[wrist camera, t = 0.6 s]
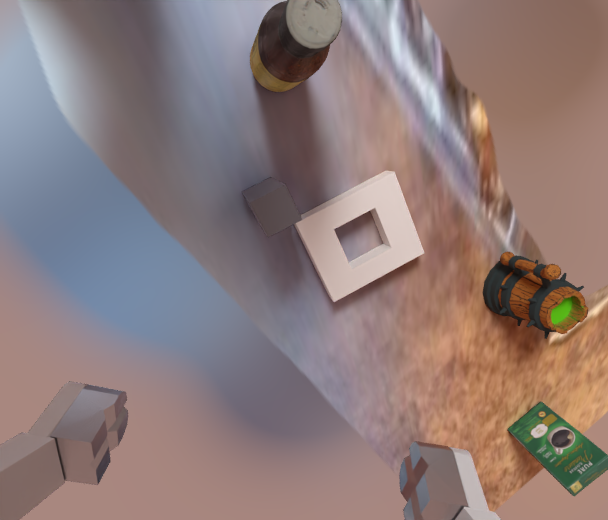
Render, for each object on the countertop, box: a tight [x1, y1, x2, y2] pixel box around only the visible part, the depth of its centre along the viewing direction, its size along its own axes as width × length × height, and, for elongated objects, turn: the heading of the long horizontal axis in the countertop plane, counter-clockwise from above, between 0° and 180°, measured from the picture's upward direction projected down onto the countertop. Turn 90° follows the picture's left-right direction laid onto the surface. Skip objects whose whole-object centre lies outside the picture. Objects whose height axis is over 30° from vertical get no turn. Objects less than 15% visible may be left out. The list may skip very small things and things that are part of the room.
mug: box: [483, 252, 588, 339], centre depth 56 cm, size 13×10×12 cm
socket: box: [294, 171, 424, 302], centre depth 52 cm, size 12×14×2 cm
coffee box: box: [508, 402, 608, 496], centre depth 64 cm, size 8×3×13 cm, turn 129°
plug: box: [242, 177, 302, 237], centre depth 45 cm, size 4×4×10 cm
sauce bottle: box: [250, 0, 342, 92], centre depth 36 cm, size 6×6×20 cm
